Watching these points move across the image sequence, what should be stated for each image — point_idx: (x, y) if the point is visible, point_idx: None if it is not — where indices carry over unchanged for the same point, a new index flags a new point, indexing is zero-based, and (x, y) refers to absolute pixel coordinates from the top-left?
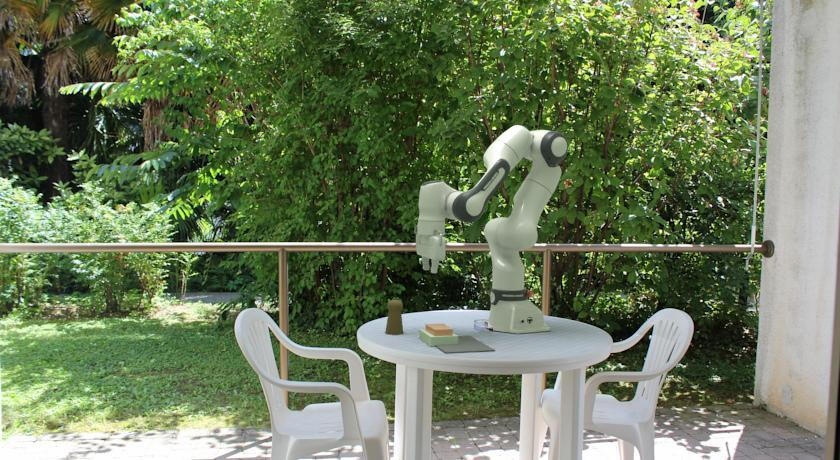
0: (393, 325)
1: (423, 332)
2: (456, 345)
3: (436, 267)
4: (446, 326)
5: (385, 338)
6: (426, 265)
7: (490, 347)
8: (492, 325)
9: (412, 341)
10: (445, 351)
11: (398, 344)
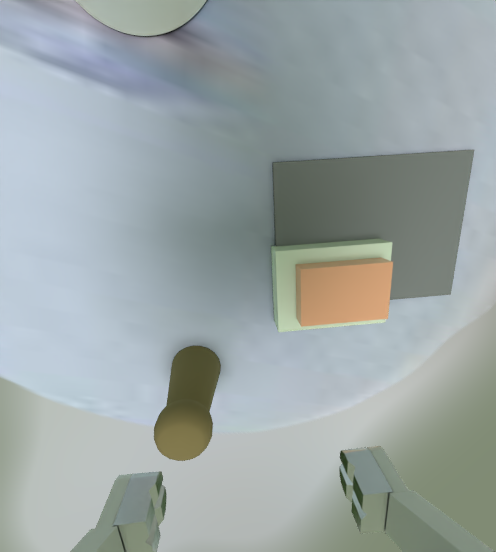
0: (215, 388)
1: (319, 327)
2: (392, 247)
3: (415, 501)
4: (348, 271)
5: (261, 394)
6: (151, 538)
7: (443, 153)
8: (168, 12)
9: (304, 341)
10: (443, 292)
11: (329, 376)
